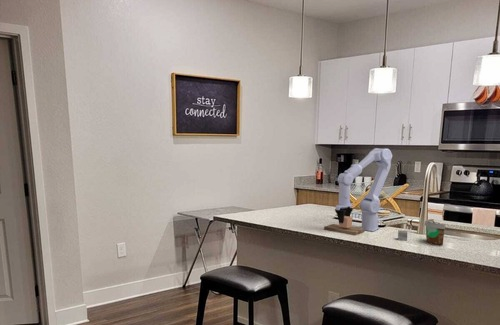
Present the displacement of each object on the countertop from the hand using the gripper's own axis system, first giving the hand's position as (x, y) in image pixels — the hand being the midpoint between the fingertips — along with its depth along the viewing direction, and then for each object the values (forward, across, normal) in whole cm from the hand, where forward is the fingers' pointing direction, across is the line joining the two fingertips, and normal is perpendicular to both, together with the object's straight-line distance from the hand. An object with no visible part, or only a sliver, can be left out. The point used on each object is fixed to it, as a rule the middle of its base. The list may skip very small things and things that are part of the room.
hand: (343, 222), depth 199 cm
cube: (+2, 0, -1) cm, 2 cm away
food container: (+5, +9, -41) cm, 42 cm away
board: (+5, 0, 0) cm, 5 cm away
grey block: (+5, +5, -29) cm, 30 cm away
